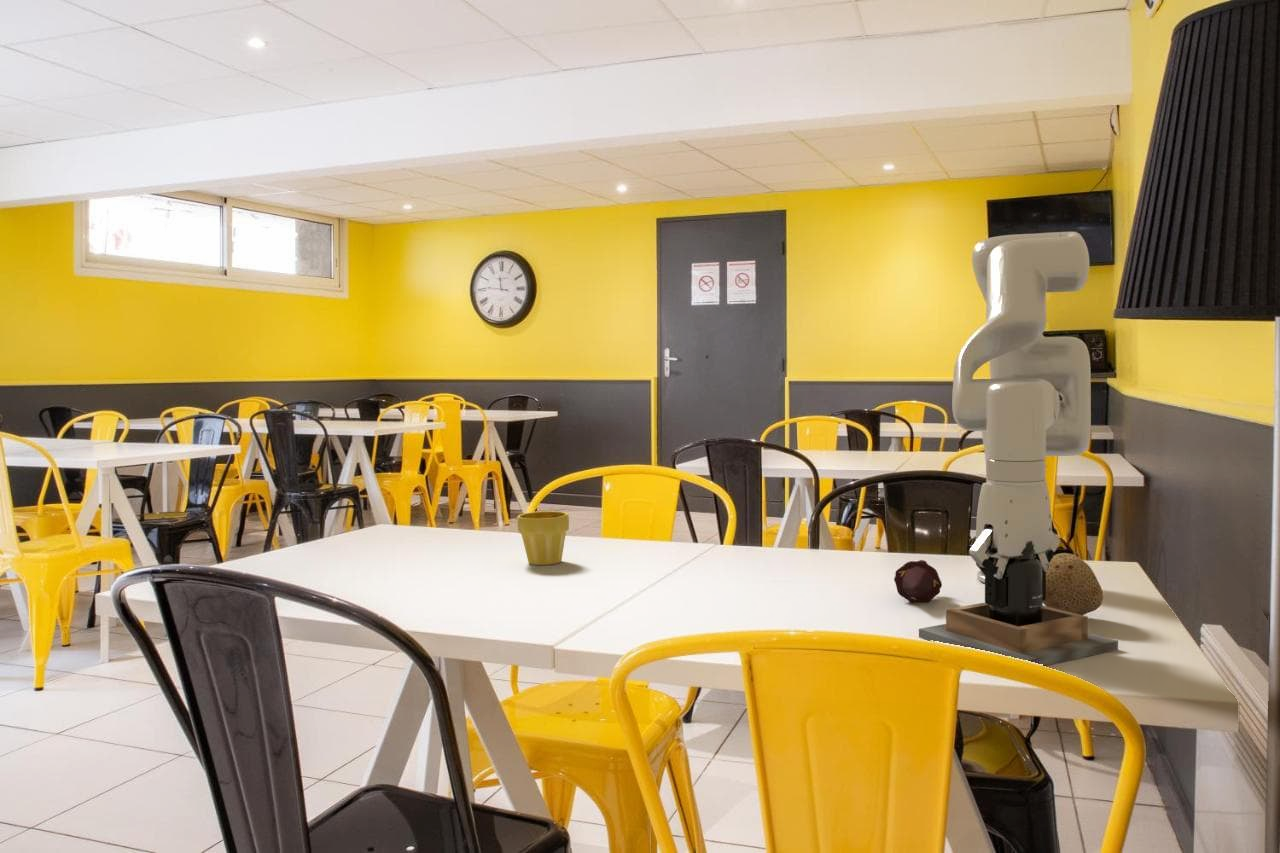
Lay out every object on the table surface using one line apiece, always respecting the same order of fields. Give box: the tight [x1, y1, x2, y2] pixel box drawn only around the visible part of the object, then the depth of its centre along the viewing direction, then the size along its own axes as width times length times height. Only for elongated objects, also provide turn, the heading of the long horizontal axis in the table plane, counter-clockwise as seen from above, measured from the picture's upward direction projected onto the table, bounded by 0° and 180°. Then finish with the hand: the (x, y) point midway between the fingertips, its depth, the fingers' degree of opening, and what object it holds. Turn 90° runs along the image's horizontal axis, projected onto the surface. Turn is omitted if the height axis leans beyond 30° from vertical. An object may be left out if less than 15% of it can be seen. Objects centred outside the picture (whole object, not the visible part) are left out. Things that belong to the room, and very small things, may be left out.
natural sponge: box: [1043, 552, 1104, 616], centre depth 145 cm, size 9×9×10 cm
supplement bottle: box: [989, 541, 1044, 627], centre depth 133 cm, size 7×7×12 cm
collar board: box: [918, 602, 1119, 666], centre depth 133 cm, size 18×18×4 cm
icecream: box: [893, 559, 943, 604], centre depth 158 cm, size 7×7×15 cm
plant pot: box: [516, 510, 570, 566], centre depth 197 cm, size 10×10×10 cm
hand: (1015, 601), depth 133 cm, fingers closed on supplement bottle, 6 cm apart
